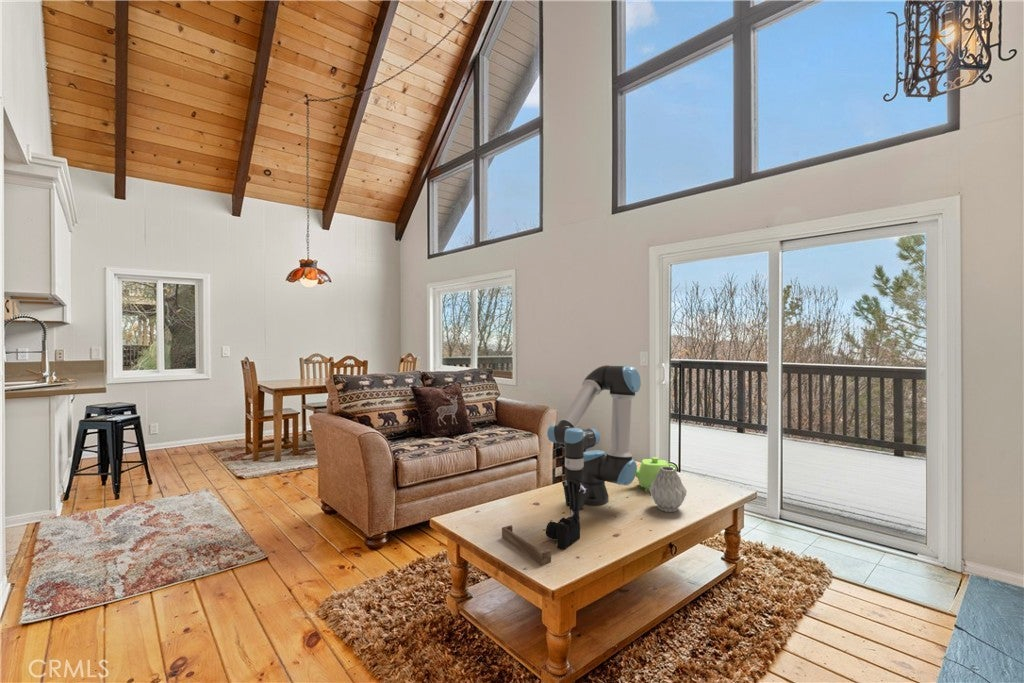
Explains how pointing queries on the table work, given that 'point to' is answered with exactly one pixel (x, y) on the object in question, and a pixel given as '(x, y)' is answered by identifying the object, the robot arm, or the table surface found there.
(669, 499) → the vase
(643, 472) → the teapot
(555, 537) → the camera
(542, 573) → the table surface
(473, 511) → the table surface
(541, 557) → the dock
